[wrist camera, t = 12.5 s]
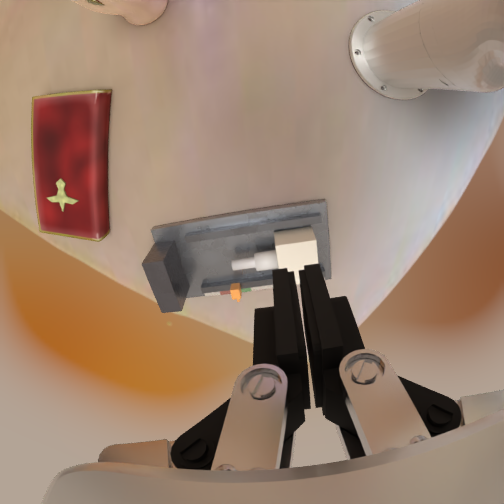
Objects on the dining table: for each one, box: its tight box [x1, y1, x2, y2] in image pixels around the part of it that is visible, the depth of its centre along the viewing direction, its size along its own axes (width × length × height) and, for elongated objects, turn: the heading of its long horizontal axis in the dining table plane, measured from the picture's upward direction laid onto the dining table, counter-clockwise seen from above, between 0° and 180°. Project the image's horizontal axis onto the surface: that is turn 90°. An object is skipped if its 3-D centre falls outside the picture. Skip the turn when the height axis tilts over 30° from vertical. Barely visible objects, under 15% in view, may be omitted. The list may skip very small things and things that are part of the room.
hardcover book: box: [31, 90, 112, 242], centre depth 35 cm, size 12×21×4 cm, turn 171°
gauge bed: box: [142, 199, 331, 313], centre depth 40 cm, size 24×12×7 cm, turn 100°
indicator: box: [230, 283, 242, 302], centre depth 42 cm, size 1×3×2 cm, turn 10°
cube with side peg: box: [232, 227, 318, 284], centre depth 40 cm, size 11×8×4 cm
